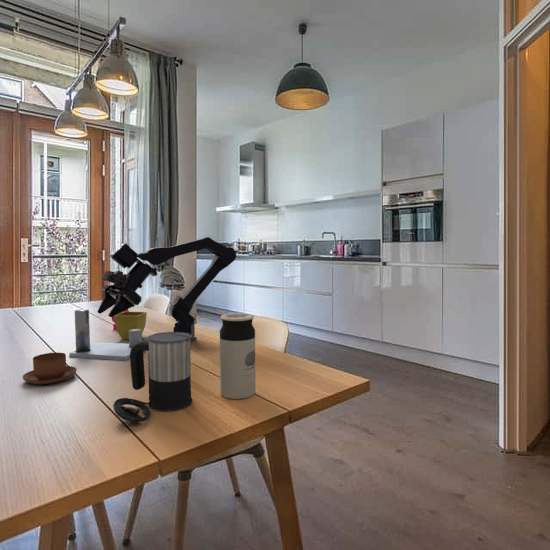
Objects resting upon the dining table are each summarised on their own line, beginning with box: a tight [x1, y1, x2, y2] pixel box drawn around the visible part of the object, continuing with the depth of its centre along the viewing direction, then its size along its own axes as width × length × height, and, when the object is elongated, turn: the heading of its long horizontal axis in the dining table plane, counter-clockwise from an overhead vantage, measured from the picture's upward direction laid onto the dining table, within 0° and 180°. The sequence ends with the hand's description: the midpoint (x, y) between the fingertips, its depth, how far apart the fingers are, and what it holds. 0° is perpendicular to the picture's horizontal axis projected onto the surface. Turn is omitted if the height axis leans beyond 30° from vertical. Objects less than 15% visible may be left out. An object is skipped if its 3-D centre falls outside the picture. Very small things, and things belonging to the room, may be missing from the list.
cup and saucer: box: [22, 352, 78, 385], centre depth 104 cm, size 12×12×6 cm
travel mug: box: [219, 312, 257, 400], centre depth 93 cm, size 8×8×18 cm
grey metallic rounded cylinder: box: [74, 308, 91, 352], centre depth 127 cm, size 4×4×12 cm
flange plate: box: [68, 329, 147, 361], centre depth 129 cm, size 19×14×6 cm
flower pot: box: [114, 311, 148, 340], centre depth 150 cm, size 9×9×9 cm
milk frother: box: [112, 331, 193, 424], centre depth 84 cm, size 14×16×15 cm
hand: (103, 314), depth 131 cm, fingers open, 9 cm apart
